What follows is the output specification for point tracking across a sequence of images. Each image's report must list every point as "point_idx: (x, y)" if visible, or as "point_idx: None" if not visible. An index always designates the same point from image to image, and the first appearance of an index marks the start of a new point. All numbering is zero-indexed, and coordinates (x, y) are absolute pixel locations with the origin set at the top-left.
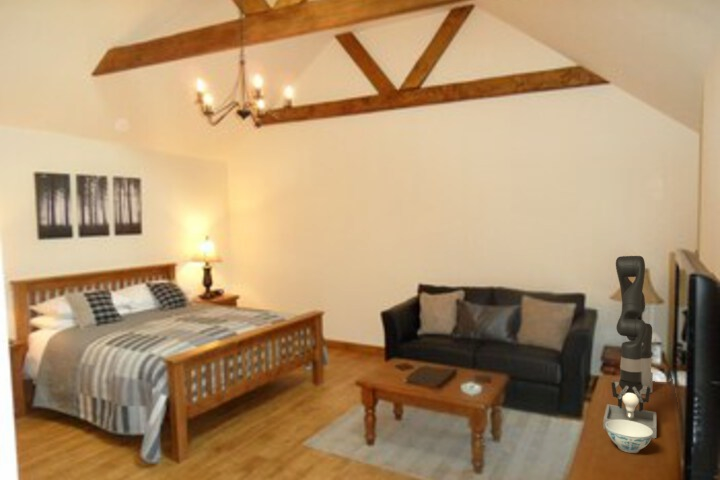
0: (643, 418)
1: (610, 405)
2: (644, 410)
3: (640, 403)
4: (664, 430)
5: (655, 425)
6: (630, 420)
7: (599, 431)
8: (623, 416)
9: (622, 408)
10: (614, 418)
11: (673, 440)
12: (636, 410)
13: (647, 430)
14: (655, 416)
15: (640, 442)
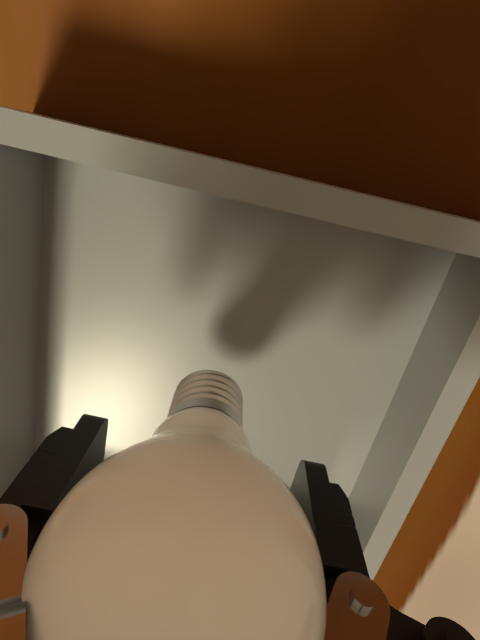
0: (369, 233)
1: (5, 146)
2: (418, 215)
3: None
4: None
5: (371, 568)
6: (227, 325)
7: None
8: (178, 238)
9: (158, 181)
10: (92, 314)
11: (444, 533)
12: (318, 218)
13: None
14: (469, 379)
15: None
